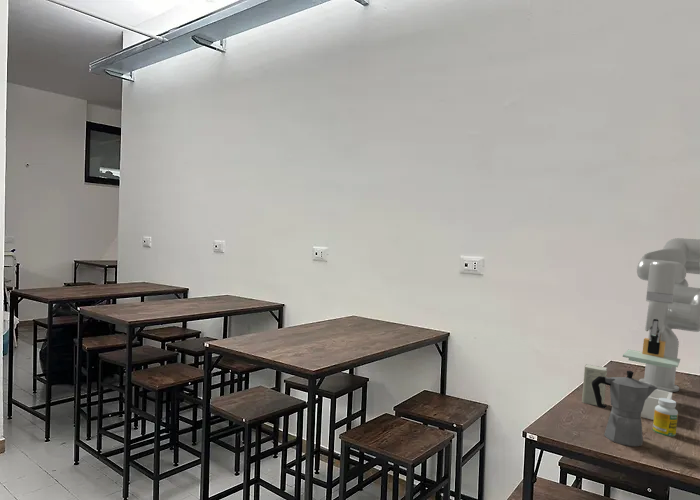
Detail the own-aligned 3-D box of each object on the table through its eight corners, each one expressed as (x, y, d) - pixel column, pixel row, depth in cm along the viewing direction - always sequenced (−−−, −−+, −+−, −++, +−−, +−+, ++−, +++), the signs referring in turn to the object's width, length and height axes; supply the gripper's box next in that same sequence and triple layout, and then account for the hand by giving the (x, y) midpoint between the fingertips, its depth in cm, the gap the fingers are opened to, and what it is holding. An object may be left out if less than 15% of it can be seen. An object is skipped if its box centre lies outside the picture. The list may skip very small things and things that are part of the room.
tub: (618, 402, 160) (620, 381, 160) (670, 415, 152) (672, 392, 152) (612, 412, 151) (614, 389, 151) (666, 425, 142) (669, 401, 142)
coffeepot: (644, 436, 133) (651, 369, 132) (658, 451, 124) (665, 379, 123) (582, 427, 136) (589, 362, 136) (591, 440, 127) (598, 371, 126)
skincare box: (604, 406, 156) (608, 367, 156) (603, 410, 152) (607, 370, 152) (582, 401, 159) (586, 363, 159) (580, 404, 155) (584, 366, 155)
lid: (628, 354, 173) (630, 335, 173) (679, 363, 164) (682, 343, 164) (622, 359, 162) (624, 339, 162) (677, 370, 154) (679, 349, 153)
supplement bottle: (658, 429, 139) (661, 395, 139) (679, 437, 135) (683, 402, 134) (648, 432, 136) (652, 398, 136) (669, 440, 132) (673, 404, 131)
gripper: (649, 295, 175) (643, 347, 176) (643, 297, 162) (637, 354, 162) (674, 298, 170) (668, 351, 171) (670, 301, 157) (664, 359, 158)
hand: (653, 352), depth 167 cm, fingers closed on lid, 3 cm apart
